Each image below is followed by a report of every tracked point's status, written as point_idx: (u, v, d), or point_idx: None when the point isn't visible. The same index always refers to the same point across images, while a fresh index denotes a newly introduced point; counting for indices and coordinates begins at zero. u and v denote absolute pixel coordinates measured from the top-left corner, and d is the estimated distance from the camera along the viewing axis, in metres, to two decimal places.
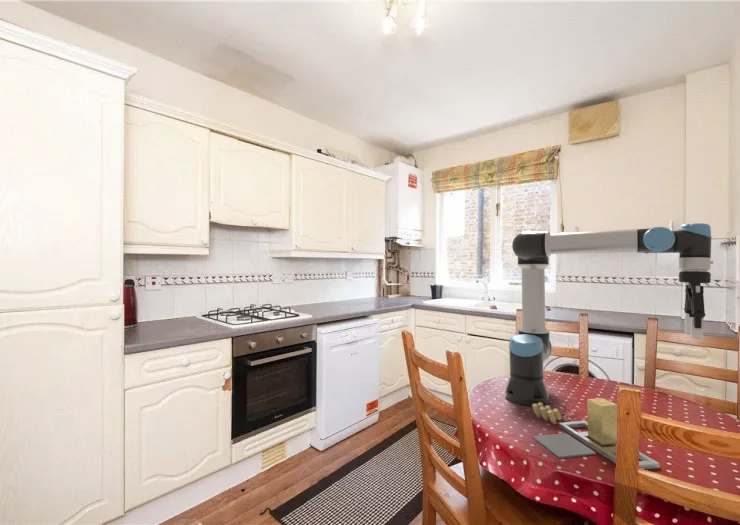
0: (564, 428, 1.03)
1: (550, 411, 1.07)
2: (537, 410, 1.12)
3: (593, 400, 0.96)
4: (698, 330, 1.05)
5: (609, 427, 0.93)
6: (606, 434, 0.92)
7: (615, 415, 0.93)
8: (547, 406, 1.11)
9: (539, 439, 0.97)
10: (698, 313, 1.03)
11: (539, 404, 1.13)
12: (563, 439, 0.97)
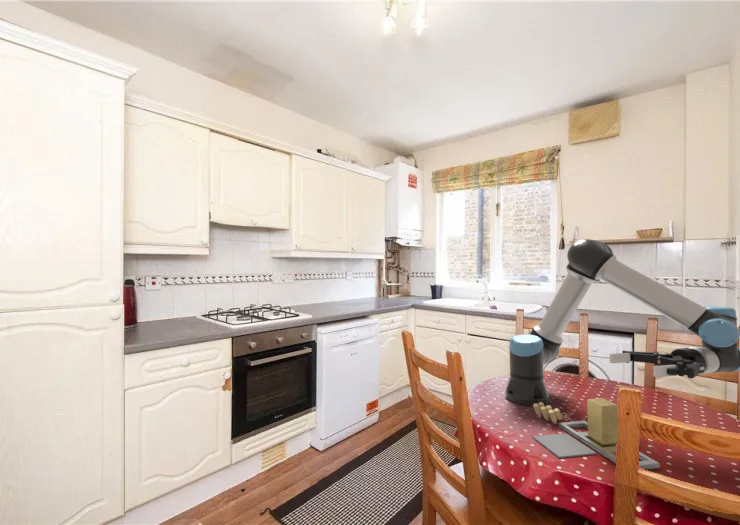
0: (564, 428, 1.03)
1: (551, 411, 1.07)
2: (538, 410, 1.12)
3: (593, 400, 0.96)
4: (664, 372, 0.90)
5: (609, 427, 0.93)
6: (606, 434, 0.92)
7: (615, 415, 0.93)
8: (548, 406, 1.11)
9: (539, 439, 0.97)
10: (692, 372, 0.88)
11: (540, 404, 1.14)
12: (563, 439, 0.97)
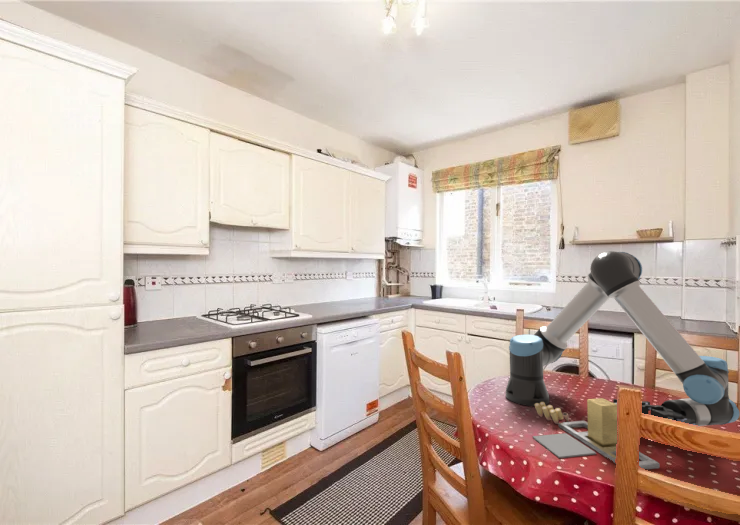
0: (564, 428, 1.03)
1: (552, 411, 1.08)
2: (539, 410, 1.12)
3: (593, 400, 0.96)
4: None
5: (609, 427, 0.93)
6: (606, 434, 0.92)
7: (615, 415, 0.93)
8: (549, 406, 1.11)
9: (539, 439, 0.97)
10: None
11: (541, 404, 1.14)
12: (563, 439, 0.97)
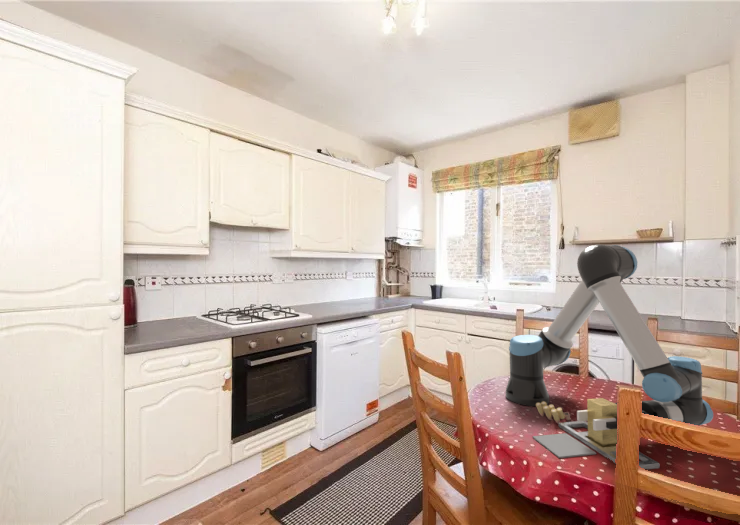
0: (564, 428, 1.03)
1: (554, 410, 1.08)
2: (541, 409, 1.13)
3: (593, 400, 0.96)
4: (603, 425, 0.91)
5: None
6: (606, 434, 0.92)
7: (615, 415, 0.93)
8: (551, 405, 1.12)
9: (539, 439, 0.97)
10: None
11: (543, 403, 1.14)
12: (563, 439, 0.97)
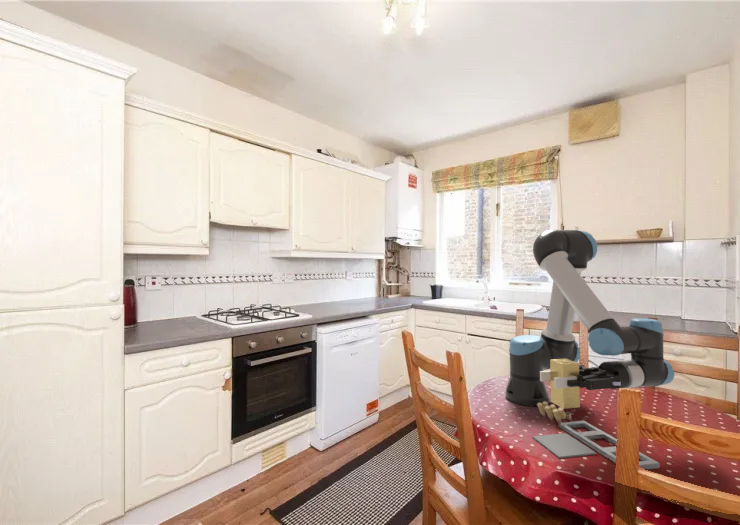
0: (564, 428, 1.03)
1: (555, 410, 1.08)
2: (542, 409, 1.13)
3: (556, 360, 0.96)
4: (564, 383, 0.91)
5: None
6: (567, 392, 0.92)
7: (576, 373, 0.93)
8: (552, 405, 1.12)
9: (539, 439, 0.97)
10: (590, 384, 0.89)
11: (544, 403, 1.14)
12: (563, 439, 0.97)
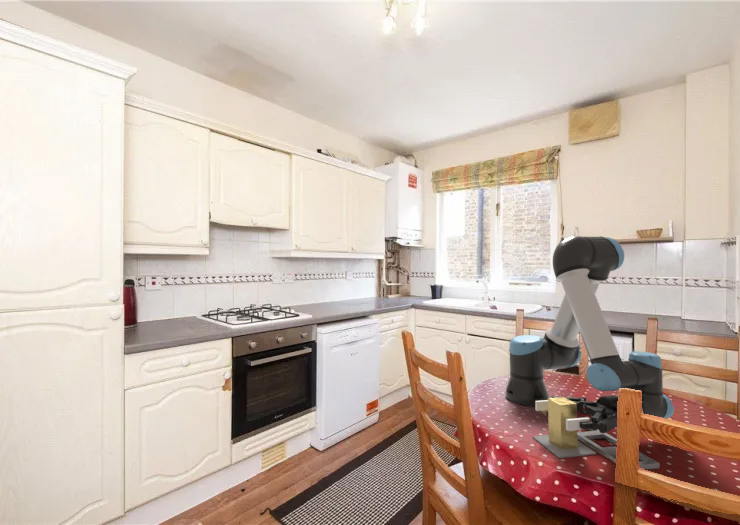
0: None
1: None
2: None
3: (553, 399, 0.96)
4: (577, 425, 0.88)
5: None
6: (565, 433, 0.92)
7: (574, 414, 0.93)
8: None
9: (539, 439, 0.97)
10: (604, 427, 0.86)
11: None
12: None
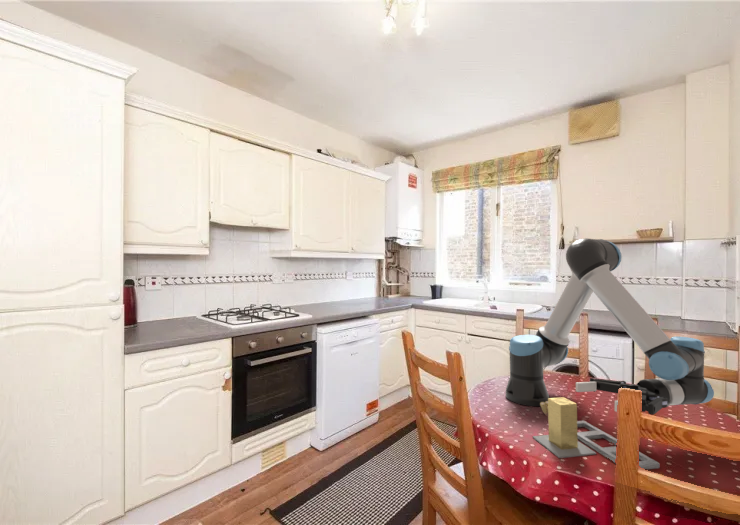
0: None
1: None
2: (545, 408, 1.13)
3: (553, 399, 0.96)
4: None
5: (568, 426, 0.92)
6: (565, 433, 0.92)
7: (574, 414, 0.93)
8: None
9: (539, 439, 0.97)
10: (653, 409, 0.88)
11: (547, 402, 1.15)
12: None
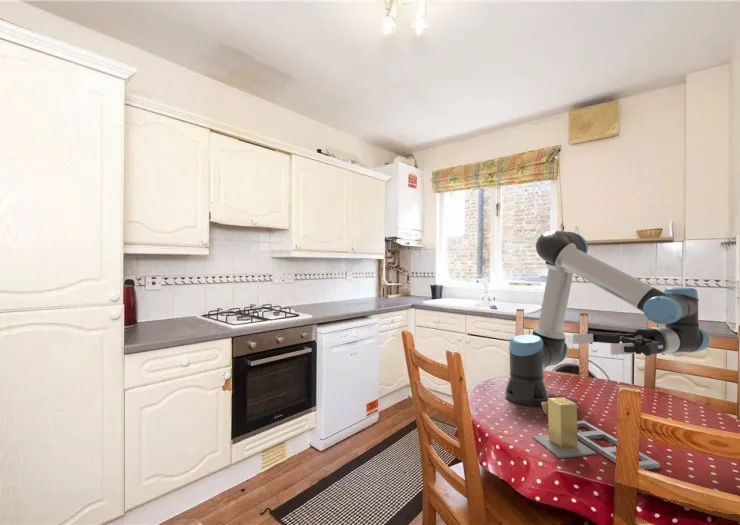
0: None
1: None
2: (546, 408, 1.14)
3: (553, 399, 0.96)
4: (621, 350, 0.90)
5: (568, 426, 0.92)
6: (565, 433, 0.92)
7: (574, 414, 0.93)
8: None
9: (539, 439, 0.97)
10: (649, 350, 0.88)
11: None
12: None
